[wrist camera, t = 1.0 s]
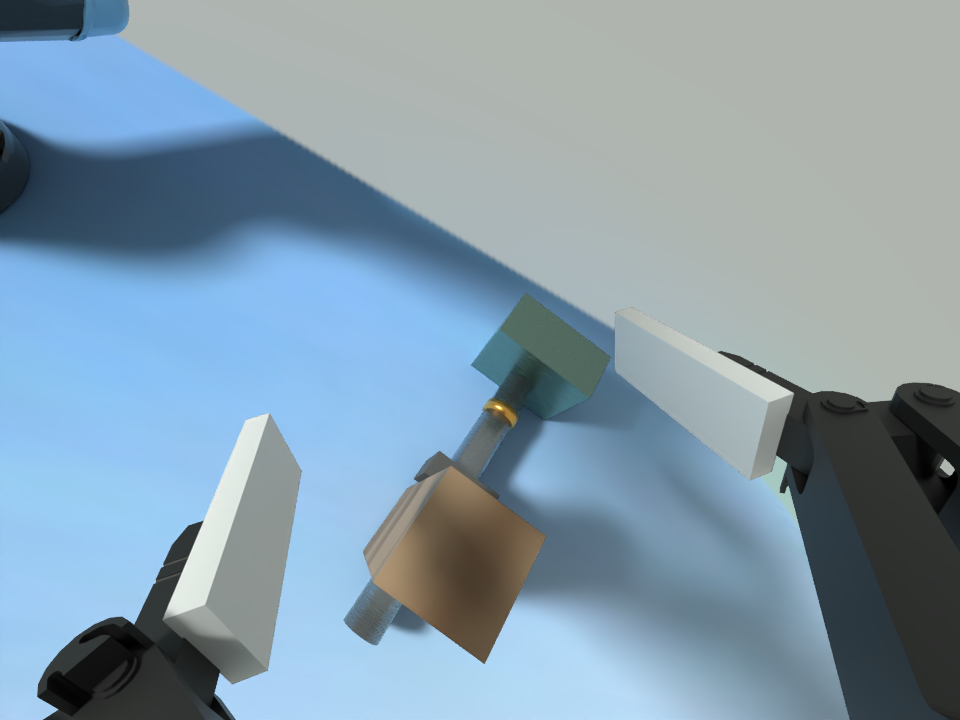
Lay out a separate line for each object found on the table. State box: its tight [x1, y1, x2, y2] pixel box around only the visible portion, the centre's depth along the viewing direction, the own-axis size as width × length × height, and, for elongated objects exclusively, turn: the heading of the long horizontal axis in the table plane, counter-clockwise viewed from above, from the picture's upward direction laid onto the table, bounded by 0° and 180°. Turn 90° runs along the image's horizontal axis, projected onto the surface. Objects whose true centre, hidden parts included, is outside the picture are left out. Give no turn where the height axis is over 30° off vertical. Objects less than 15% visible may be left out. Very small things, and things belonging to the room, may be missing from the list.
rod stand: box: [344, 293, 611, 645], centre depth 34 cm, size 10×29×9 cm, turn 147°
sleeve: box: [363, 466, 546, 664], centre depth 26 cm, size 6×6×18 cm
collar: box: [414, 451, 499, 499], centre depth 33 cm, size 6×2×6 cm, turn 57°
